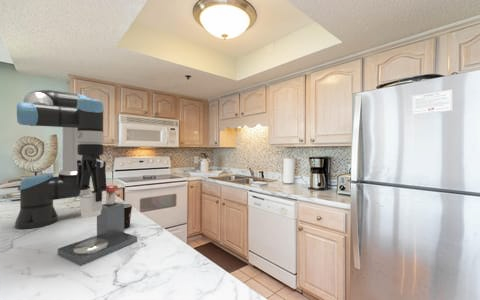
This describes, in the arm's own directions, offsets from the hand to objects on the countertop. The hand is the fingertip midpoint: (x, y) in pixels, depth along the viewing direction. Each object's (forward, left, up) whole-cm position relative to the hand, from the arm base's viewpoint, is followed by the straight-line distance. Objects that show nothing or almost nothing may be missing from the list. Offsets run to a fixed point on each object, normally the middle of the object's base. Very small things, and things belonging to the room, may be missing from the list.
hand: (91, 209), depth 76 cm
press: (-2, +4, -16) cm, 16 cm away
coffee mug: (-15, +22, -16) cm, 31 cm away
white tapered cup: (0, 0, -2) cm, 2 cm away
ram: (-6, +11, -6) cm, 13 cm away
